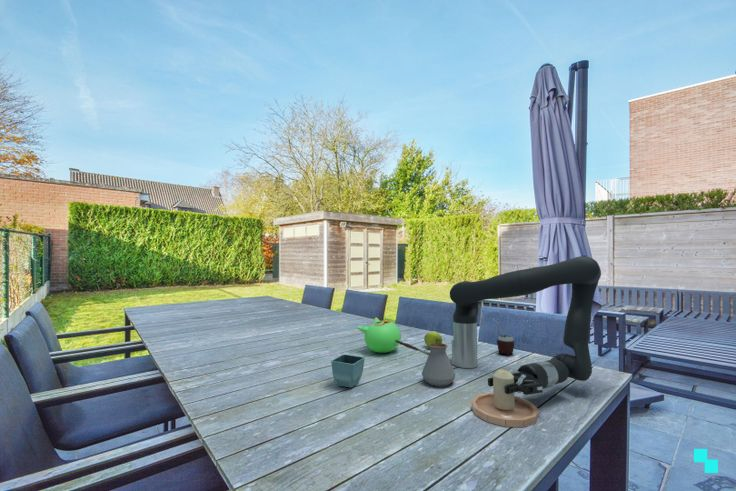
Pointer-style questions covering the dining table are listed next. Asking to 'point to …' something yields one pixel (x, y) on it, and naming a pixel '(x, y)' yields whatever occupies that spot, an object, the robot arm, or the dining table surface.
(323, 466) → the dining table surface
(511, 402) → the candle
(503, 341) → the mate gourd
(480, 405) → the saucer
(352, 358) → the flower pot
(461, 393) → the dining table surface
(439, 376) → the coffee pot
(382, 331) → the green teapot
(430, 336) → the apple
